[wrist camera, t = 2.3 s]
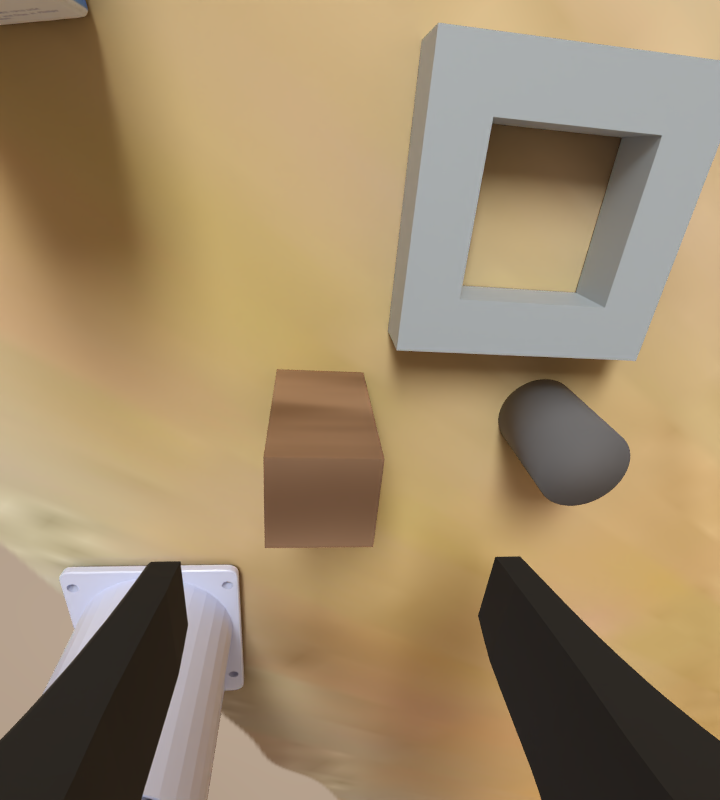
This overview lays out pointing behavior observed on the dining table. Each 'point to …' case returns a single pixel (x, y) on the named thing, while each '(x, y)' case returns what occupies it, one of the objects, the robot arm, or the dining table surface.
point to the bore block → (620, 212)
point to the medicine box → (40, 10)
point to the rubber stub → (563, 443)
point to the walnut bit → (321, 462)
